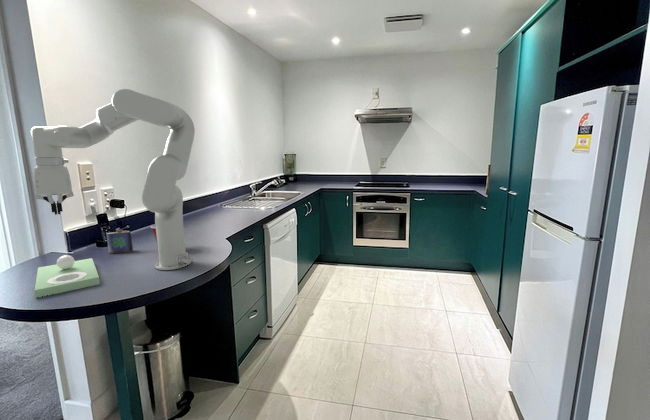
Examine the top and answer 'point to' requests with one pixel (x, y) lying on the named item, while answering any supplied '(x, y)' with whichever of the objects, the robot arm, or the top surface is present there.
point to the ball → (65, 262)
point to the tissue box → (65, 278)
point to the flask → (119, 241)
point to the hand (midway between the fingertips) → (57, 213)
